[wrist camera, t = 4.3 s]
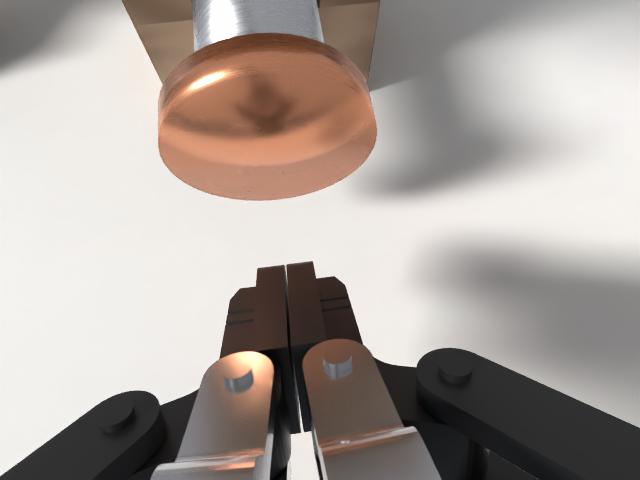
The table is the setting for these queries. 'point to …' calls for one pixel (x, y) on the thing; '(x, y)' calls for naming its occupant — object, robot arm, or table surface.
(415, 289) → the table surface
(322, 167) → the pin
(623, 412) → the table surface
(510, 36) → the table surface
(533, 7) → the table surface
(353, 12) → the post
